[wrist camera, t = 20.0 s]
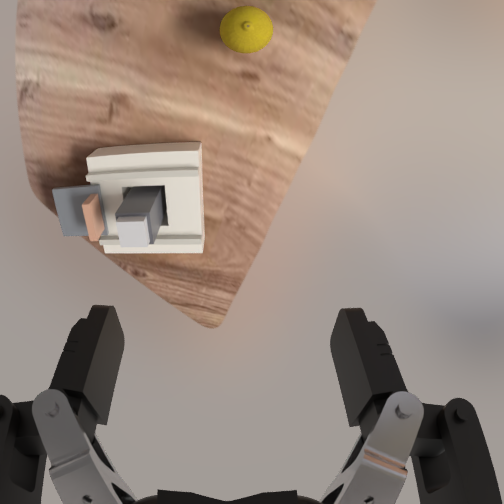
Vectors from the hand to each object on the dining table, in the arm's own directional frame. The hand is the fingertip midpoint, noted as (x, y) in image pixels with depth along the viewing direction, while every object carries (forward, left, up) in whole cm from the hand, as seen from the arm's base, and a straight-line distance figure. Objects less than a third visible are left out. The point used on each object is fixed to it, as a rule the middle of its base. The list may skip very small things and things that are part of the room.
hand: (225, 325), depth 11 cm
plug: (+9, -11, -31) cm, 34 cm away
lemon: (-12, +1, -32) cm, 34 cm away
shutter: (+9, -20, -28) cm, 35 cm away
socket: (+9, -11, -32) cm, 35 cm away
